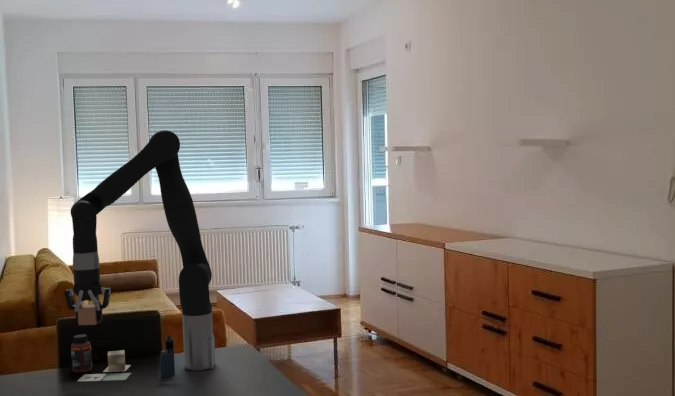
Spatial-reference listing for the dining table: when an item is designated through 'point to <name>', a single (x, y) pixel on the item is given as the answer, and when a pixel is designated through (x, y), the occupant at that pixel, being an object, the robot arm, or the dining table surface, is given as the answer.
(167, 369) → the vaping device
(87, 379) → the tile
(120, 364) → the maple block
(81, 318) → the terracotta block
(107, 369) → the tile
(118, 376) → the sage pad
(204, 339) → the robot arm
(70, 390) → the dining table surface
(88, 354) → the supplement bottle
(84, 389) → the dining table surface
